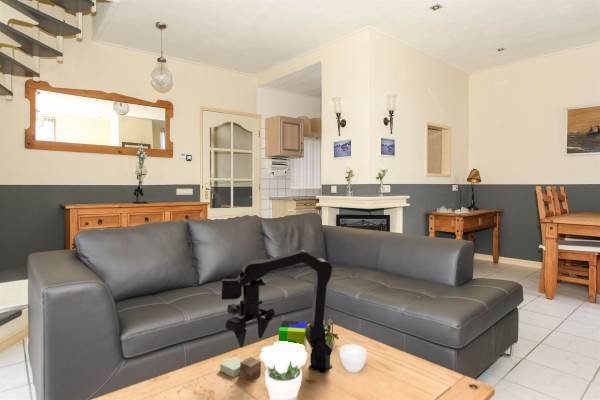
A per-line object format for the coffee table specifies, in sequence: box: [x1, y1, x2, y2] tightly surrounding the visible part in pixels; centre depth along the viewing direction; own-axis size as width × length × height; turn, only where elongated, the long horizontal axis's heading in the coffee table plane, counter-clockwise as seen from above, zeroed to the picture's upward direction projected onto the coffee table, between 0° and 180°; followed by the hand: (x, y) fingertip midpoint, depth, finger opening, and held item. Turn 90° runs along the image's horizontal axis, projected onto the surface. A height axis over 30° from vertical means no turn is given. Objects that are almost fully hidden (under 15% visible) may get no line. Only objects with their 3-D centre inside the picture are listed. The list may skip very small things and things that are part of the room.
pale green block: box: [219, 356, 244, 378], centre depth 131 cm, size 7×7×2 cm
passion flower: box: [323, 318, 340, 345], centre depth 155 cm, size 11×11×12 cm
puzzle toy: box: [278, 320, 308, 348], centre depth 146 cm, size 10×10×10 cm
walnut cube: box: [239, 356, 262, 382], centre depth 127 cm, size 5×5×5 cm
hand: (250, 342), depth 127 cm, fingers open, 9 cm apart
